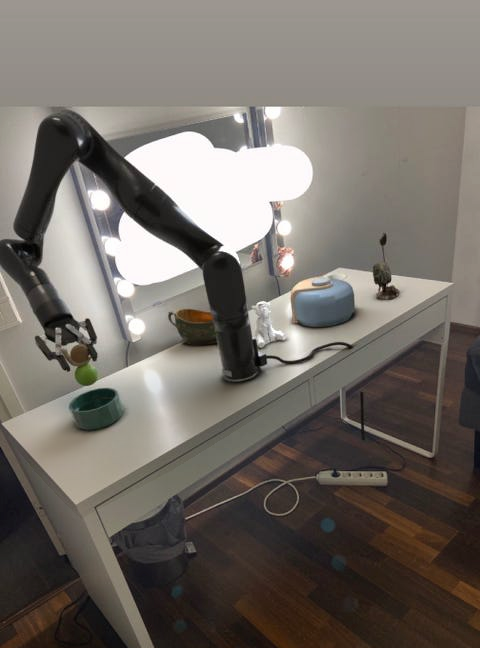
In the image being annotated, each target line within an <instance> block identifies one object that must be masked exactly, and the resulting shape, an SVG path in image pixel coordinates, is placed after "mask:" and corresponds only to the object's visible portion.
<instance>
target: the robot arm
mask: <svg viewBox="0 0 480 648" xmlns="http://www.w3.org/2000/svg"><path fill="white" fill-rule="evenodd" d="M35 137H36V138H35V143H34V151H33V157H32V161H31V162H32V163H31V167H30V172H29V176H28V180H27V183H26V187H25V190H24V192H23V196H22V198H21V201H20V204H19V206H18V208H17V212H16V214H15V217H14V220H13V224H12V228H13V232H14V233H15V234H16V236H17V237H19V238H20V239H17V238H2V239H0V268H1V269H2V270H3V271H4V272H5V273H6V274H7V275H8V276H9V277H10V278H11V279H12V280H13V281H14V282H15V283H16V284H17V285H18V286H19V287H20V288H21V291H22V292H23V294H24V295H25V297H26V299H27V301H28V304H29V306H30V308H31V310H32V313H33V315H34V316H35V317H36V319H37V321H38V323H39V324H40V326H41V327H42V330H43V331H44V333H43V334H41V335H35V336H34V341H35V345H36V347H38V349H39V350H40V352H41V353H42V354H43V355H44V357H45V358H46V360H48V361H53V360H56V361H57V362H58V364H59V366H60V367H61V369H62V370H63V371H66V372H67V373H69V372H71V366H70V363H69V362H68V361H67V360H66V358H65V357H64V355H63V354H62V352H61V349H60V348H62V347H66V346H67V345H68V344H73V343H77V345H79V344H81V345H85V346H86V347H87V348H88V350H89V357H91V360H92V362H93V363H95V362H97V361H98V357H99V355H98V352H97V350H96V348H95V347H94V345H97V342H98V336H97V333H96V331H95V329H94V325H93V324H92V322H91V319H90V318H88V317H86V318H85V319H84V320H82V321H77V320H76V319H75V318H74V316H73V314H72V312H71V311H70V309H69V307H68V305H67V304H66V302H65V300H64V299H63V297H62V295H61V294H60V293H59V291H58V289H57V288H56V287H55V285H54V284H53V282H52V280H51V279H50V277H49V275H48V273H47V272H46V271H45V270H44V269H43V268H41V267H40V266H41V264H42V262H43V259H44V242H45V235H46V234H47V230H48V228H49V226H50V223H51V220H52V218H53V215H54V212H55V207H56V199H57V193H58V190H59V188H60V186H61V183H62V182H63V179H64V178H65V176H66V174H67V173H68V171H70V169H71V167H72V166H73V164H76V163H79V164H81V165H82V166H84V167H85V168H86V169H87V170H89V171H90V172H91V173H92V174H93V175H95V176H96V177H97V178H98V179H99V180H100V181H101V182H102V183H103V184H104V185H105V187H106V188H107V190H108V191H109V192H110V194H111V195H112V197H113V199H114V200H115V202H116V203H117V205H118V206H119V207H120V209H121V210H122V211H123V212H124V213H125V214H126V215H127V216H128V217H129V218H130V219H132V221H134V222H135V223H136V224H137V225H138V226H140V227H141V228H142V229H144V230H145V232H148V233H149V234H150V235H152V236H154V237H155V238H157V239H159V240H161V241H162V242H164V243H166V244H168V245H170V246H172V247H173V248H176V249H177V250H179V252H182V253H183V254H184V255H186V256H187V257H188V258H189V259H190V260H191V261H192V262H193V263H194V264H196V266H197V267H198V268H199V269H200V270H201V271H202V278H203V284H204V287H205V288H204V289H205V293H206V297H207V302H208V306H209V310H210V312H211V314H212V319H213V324H214V328H215V333H216V338H217V343H216V344H217V348H218V352H219V357H220V362H221V367H222V368H221V373H222V375H223V378H224V380H225V382H229V383H234V384H235V383H236V384H237V383H243V382H247V381H251V380H252V379H254V378H257V376H258V375H259V373H261V372H262V368H261V367H264V366H266V365H268V359H269V360H277V361H278V362H280V363H281V364H285V365H295V364H299V363H303V362H306V361H308V360H310V359H311V358H312V357H313V356H314V354H315V353H316V352H317V351H320V350H323V349H326V348H329V347H333V346H344V347H347V348H349V349H353V348H354V346H353V345H352V344H350V343H347V342H344V341H334V342H329V343H326V344H323V345H320V346H317V347H314V348H313V349H312V350H311V351H310V353H309V354H308V355H306V356H305V357H302V358H300V359H299V358H298V359H295V360H294V359H293V360H285V359H283V358H281V357H279V356H277V355H269V354H267V353H265V352H262V351H259V350H258V349H259V347H258V345H257V341H256V337H253V333H252V326H251V320H250V313H249V309H248V299H247V294H246V287H245V281H244V275H243V270H242V269H243V268H242V264H241V261H240V258H239V256H238V254H237V253H236V251H234V249H233V248H231V247H229V246H228V245H226V244H225V243H224V242H222V241H220V240H219V239H218V238H216V237H215V236H213V235H212V234H210V233H209V231H206V230H205V229H204V228H203V227H201V226H200V225H199V224H198V223H197V222H196V221H195V220H194V219H193V218H192V217H191V215H190V214H188V212H186V210H184V208H183V207H181V206H180V205H179V204H178V203H177V202H176V201H175V200H174V199H173V198H172V197H171V196H170V195H169V194H168V193H166V191H164V189H162V188H161V187H159V186H158V185H157V184H156V183H155V182H154V181H152V179H150V178H149V177H148V176H146V175H145V174H144V173H143V172H142V171H141V170H139V169H138V168H137V167H136V166H135V165H134V164H132V163H131V162H130V161H129V160H127V159H126V158H125V157H124V156H123V155H121V154H120V153H119V152H118V151H117V150H116V149H115V148H114V147H113V146H112V145H111V144H110V143H109V142H108V141H107V140H106V139H105V137H103V136H102V135H101V134H100V133H99V132H98V131H97V130H96V128H95V127H94V126H93V125H92V124H91V123H90V122H89V121H88V120H87V119H86V118H84V116H82V115H81V114H79V113H78V112H76V111H74V110H72V109H59V110H57V111H54V112H53V113H51V114H49V115H47V116H46V117H44V118H42V120H41V122H40V123H39V125H38V129H37V132H36V136H35ZM80 328H82V330H83V331H86V332H87V335H88V337H89V338H88V337H87V336H85V334H84V333H82V332H81V331H80ZM47 340H48V341H50V342H51V343H54V344H55V351H51V349H50V348H49V346H48V345H47ZM59 344H60V345H62V347H59V346H58V345H59ZM359 397H360V398H359V399H360V432H361V441H362V442H363V441H365V440H366V435H365V410H364V409H365V405H364V391H361V392H359Z"/></svg>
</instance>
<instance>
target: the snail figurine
mask: <svg viewBox="0 0 480 648" xmlns="http://www.w3.org/2000/svg"><path fill="white" fill-rule="evenodd" d="M58 346H59V347H61V348H60V349H61V354H62V355H63V356H64V357H65V359H66V361H67V363H68V364H69V365H71V366H73V367H76V368H75V370H74V379H75V380H76V382H77V383H78V384H79V385H81V386H83V387H89V386H92V385H94V384H95V383H96V382H97V381H98V378H99V372H98V369H97V368H96V367H95V366H94V365H93V364H91V363H90V361H91V360H92V358H91V357H90V355H89V350H88V348H87V347H86V346H85V345H81V344H76V345H74V346H73V347H72V348H71V349H70V353H68V349H67V348H65V347H63V346H62V345H60V344H59V345H58ZM62 347H63V348H62Z"/></svg>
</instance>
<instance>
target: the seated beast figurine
mask: <svg viewBox="0 0 480 648" xmlns="http://www.w3.org/2000/svg"><path fill="white" fill-rule="evenodd" d="M250 308H251V309H252V310H253V311H255V315H256V316H257V318H256V321H255V329H254V337H255V339H256V342H257V348H258V349H259V348H260V349H263V348H264V347H265V346H267V345H268V344H270V343H273V342H277V341H283V342H284V341H285V340H286V338H287V336H286V334H285V333H283V332H282V331H281V330H276V329H274V328H273V325H272V324H273V323H272V320H271V318H270V314H271V312H272V310H271V308H270V302H268V303H267V302H266V301H259V302H257V303H256V305H251V306H250Z"/></svg>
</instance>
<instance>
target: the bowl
mask: <svg viewBox="0 0 480 648" xmlns="http://www.w3.org/2000/svg"><path fill="white" fill-rule="evenodd" d="M68 410H69V412H70V415H71V418H72V419H73V422H74V425H75V426H76V427H77V428H78V429H82V430H84V431H85V430H86V431H95V430H100V429H103V428H106V427H108V426H111V425H112V424H114V423H116V422H118V420H119V419H120V418H121V417H122V415H123V414H124V407H123V404H122V400H121V396H120V394H119V391H118V390H117V389H115V388H111V387H99V388H95V389H91V390H88V391H84V392H83V393H80V394H79V395H77V396H76V397H74V398H73V399H72V400H71V401H70V402H69V404H68Z"/></svg>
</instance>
